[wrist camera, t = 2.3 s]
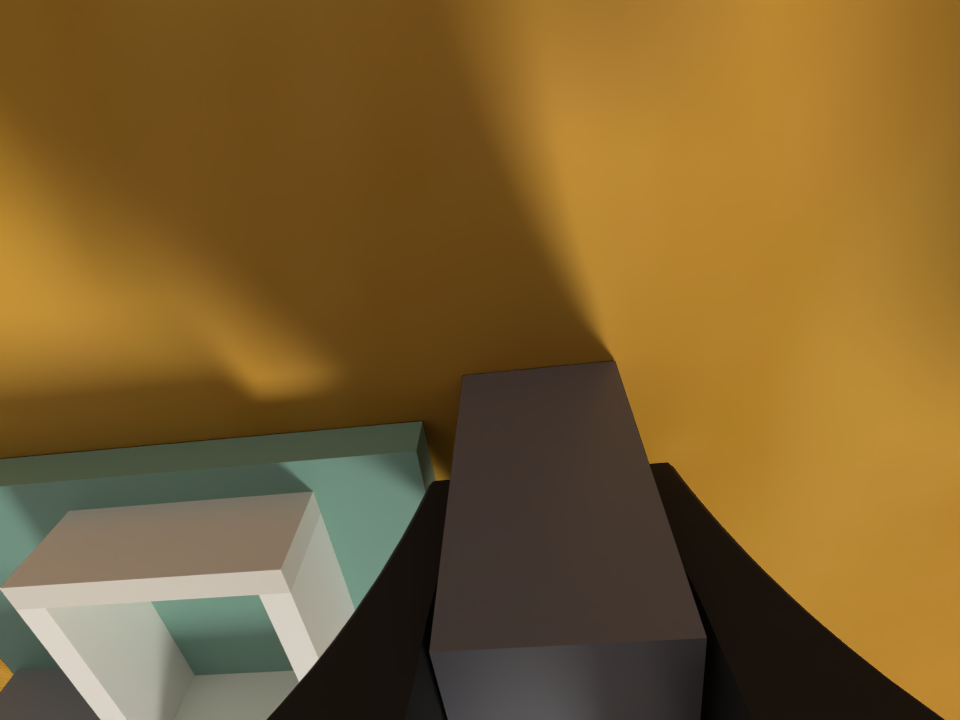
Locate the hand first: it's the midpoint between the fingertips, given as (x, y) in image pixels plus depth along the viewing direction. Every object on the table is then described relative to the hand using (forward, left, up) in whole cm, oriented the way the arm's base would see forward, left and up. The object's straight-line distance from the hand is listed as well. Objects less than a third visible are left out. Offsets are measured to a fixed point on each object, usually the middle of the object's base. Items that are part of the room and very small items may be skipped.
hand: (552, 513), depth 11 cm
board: (+9, +4, -2) cm, 10 cm away
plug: (0, 0, -2) cm, 2 cm away
